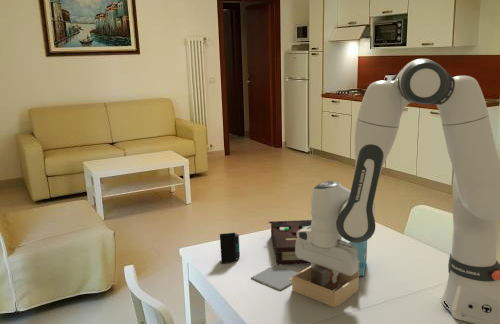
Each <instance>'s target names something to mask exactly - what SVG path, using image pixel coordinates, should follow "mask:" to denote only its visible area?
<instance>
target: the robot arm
mask: <svg viewBox="0 0 500 324" xmlns="http://www.w3.org/2000/svg"><path fill="white" fill-rule="evenodd" d="M411 103H415V104H419V105H435V106H436V107H437V110H438V111H439V115H440V120H441V127H442V131H443V135H444V140H445V145H446V149H447V154H448V156H449V159H450V162H451V165H452V168H453V172H454V175H453V177H452V178H453V179H452V219H453V220H452V222H453V223H452V224H453V225H452V226H453V230H452V231H453V232H452V244H451V253H450V254H449V258H448V266H447V267H448V278H447V283H446V286H445V288H444V289H445V290H444V292H443V294H442V296H441V298H440V299H441V303H442V305H443V306H444V307H445V309H447V310H448V311H449V312H450V313H451V315H452V317H453V318H454V319H456V320H459V321H461V322H463V321H464V322H466V323H471V324H500V262H499V261H498V260H497V257H498V247H499V239H500V232H499V231H500V230H499V227H498V226H499V225H498V220H499V219H500V156H499V153H498V151H497V148H496V147H497V146H496V144H495V140H494V136H493V135H494V134H493V129H492V125H491V119H490V115H489V111H488V106H487V102H486V99H485V97H484V94H483V90H482V88H481V86H480V84H479V82H478V80H477V79H476V78H474V77H472V76H470V75H456V76H451V75H450V73H449V72H448V71H447V70H446V69H445V68H444V67H443V66H442V65H440V63H438V62H436V61H434V60H431V59H429V58H417V59H414V60H411V61H410V62H408V63H406V64H405V65H404V66H403V67H402V68H401V69H400V70H399V71H398V72H397V73H396V75H394V77H393V78H392V79H391V80H384V79H383V80H382V79H381V80H377V81H373V82H372V83H370V84H369V85H368V86H367V88H366V90H365V93H364V95H363V98H362V100H361V103H360V106H359V109H358V110H359V111H358V113H357V118H356V123H355V128H354V129H355V130H354V131H355V132H354V154H355V161H354V162H355V167H354V173H353V177H352V179H353V180H352V183H351V188H350V189H348V188H347V187H345V186H343V185H342V184H341V183H340V182H338V181H333V180H331V181H329V180H328V181H327V180H326V181H323V182H320V183H318V184H317V185H315V186H314V187H313V190H312V193H311V201H310V214H311V218H312V219H311V220H312V222H311V226H308V227H305V228H303V229H301V230H299V231H297V237H298V238H297V240H296V244H295V254H296V256H297V258H299V259H302V260H305V261H308V262H311V264H310V266H312V268H314V267H315V266H317V265H319V266H322V267H325V268H328V269H331V270H333V273H334V275H332V276H330V277H329V279H330V280H329V282H331V283H336V282H337V276H338V275H339V273H342V274H345V275H348V276H352V275H353V274H355V273H356V272H357V271H358V258H357V252H358V251H357V248H356V247H355V246H354V245H353V244H352V243H350V242H354V243H360V242H364V241H366V240H367V241H368V240H370V238H372V236H374V234H375V231H376V205H375V197H376V192H377V189H378V188H377V187H378V183H379V179H380V175H381V173H382V170H383V167H384V165H385V162H386V160H387V158H388V156H389V154H390V152H391V150H392V148H393V146H394V142H395V140H396V139H397V138H396V137H397V134H398V131H399V127H400V123H401V118H402V114H403V112H404V110H405V109H406V107H407V106H408V105H409V104H411ZM342 238H343V239H344V240H342ZM347 241H348V242H347ZM444 301H445V303H446V304H447V305H448V307H449V308H448V307H446V305H445V304H444Z"/></svg>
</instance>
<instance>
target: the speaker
mask: <svg viewBox="0 0 500 324" xmlns="http://www.w3.org/2000/svg"><path fill="white" fill-rule="evenodd" d="M219 244H220V258H221V259H220V260H221V264H222V265H223V264H233V263H237V262H238V261H237V260H238V259H240V257H241V256H240V255H241V254H240V235H239V233H236V232H228V233H226V232H225V233H219Z"/></svg>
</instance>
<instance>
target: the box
mask: <svg viewBox="0 0 500 324" xmlns="http://www.w3.org/2000/svg"><path fill="white" fill-rule="evenodd" d="M332 275H334V273H333V270H331V269H328V268H325V267H322V266H319V265H317V266H315V267H314V268H312V269H311V281H310V282H311V283H314V284H316V285H319V286H322V287H324V288H327V289H329V290H332V291H336V290H338V289H339V288H340V285H339V275H338V276H337V282H336V283H331V282H329V280H330V279H329V277H330V276H332Z"/></svg>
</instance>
